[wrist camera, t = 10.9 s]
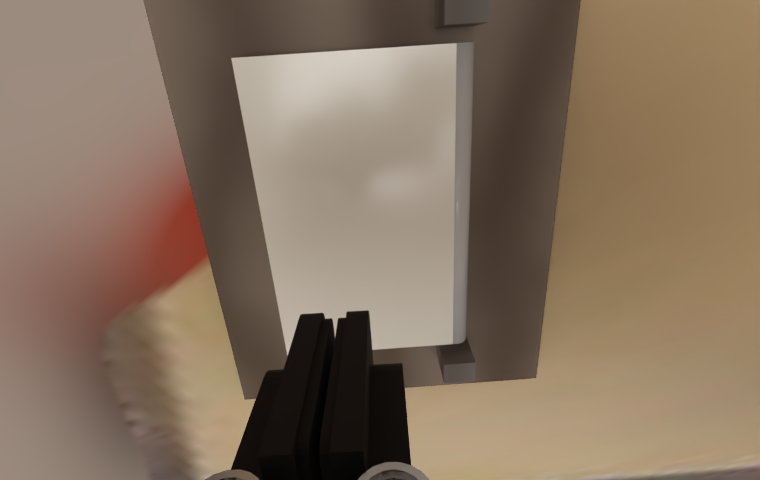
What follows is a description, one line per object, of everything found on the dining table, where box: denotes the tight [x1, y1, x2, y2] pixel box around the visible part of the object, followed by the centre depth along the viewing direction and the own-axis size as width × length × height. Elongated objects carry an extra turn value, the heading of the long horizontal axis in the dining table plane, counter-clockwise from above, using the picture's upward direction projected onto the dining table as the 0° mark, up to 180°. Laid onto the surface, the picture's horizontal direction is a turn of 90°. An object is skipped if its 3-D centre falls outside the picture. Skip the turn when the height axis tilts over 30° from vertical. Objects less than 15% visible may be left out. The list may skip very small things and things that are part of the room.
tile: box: [231, 42, 474, 356], centre depth 19 cm, size 9×14×1 cm, turn 3°
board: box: [144, 0, 581, 399], centre depth 19 cm, size 17×22×3 cm
